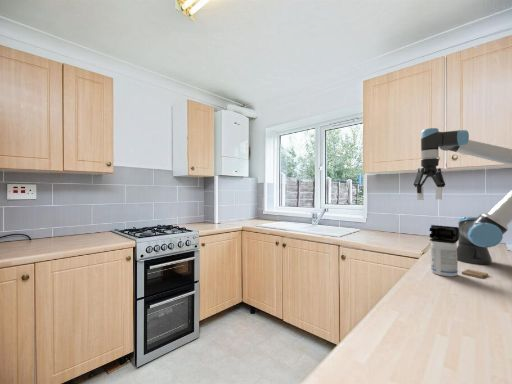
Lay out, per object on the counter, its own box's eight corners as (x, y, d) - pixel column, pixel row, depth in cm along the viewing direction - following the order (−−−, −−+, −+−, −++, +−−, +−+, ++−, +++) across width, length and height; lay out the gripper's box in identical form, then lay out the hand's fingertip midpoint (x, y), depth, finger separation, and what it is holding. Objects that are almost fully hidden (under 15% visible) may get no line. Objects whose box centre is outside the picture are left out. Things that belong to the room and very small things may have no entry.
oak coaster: (468, 271, 118) (468, 269, 118) (488, 275, 112) (488, 273, 112) (461, 273, 114) (461, 271, 114) (481, 278, 108) (481, 276, 108)
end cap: (459, 241, 113) (459, 226, 113) (455, 243, 109) (455, 228, 109) (433, 238, 121) (433, 224, 121) (428, 240, 116) (428, 225, 116)
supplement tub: (461, 274, 113) (461, 241, 113) (452, 278, 108) (452, 244, 108) (436, 269, 122) (436, 238, 121) (427, 272, 116) (427, 240, 116)
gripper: (438, 160, 141) (438, 198, 141) (405, 158, 132) (405, 199, 132) (453, 158, 134) (453, 199, 134) (419, 156, 125) (419, 200, 125)
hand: (429, 199), depth 133 cm, fingers open, 13 cm apart
